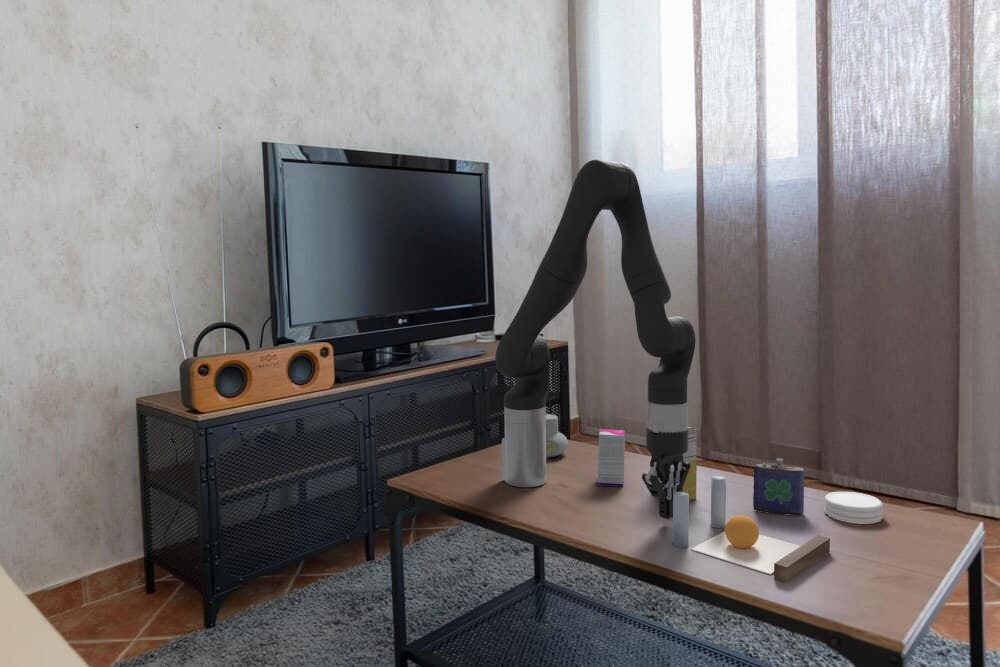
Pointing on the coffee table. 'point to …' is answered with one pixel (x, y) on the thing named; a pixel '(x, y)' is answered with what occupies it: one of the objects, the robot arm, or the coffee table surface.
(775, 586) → the coffee table surface
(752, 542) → the ball
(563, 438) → the air freshener
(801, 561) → the rail
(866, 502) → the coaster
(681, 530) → the post
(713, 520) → the post
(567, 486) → the coffee table surface
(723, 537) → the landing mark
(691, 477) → the candy box
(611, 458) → the supplement box
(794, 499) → the flask
